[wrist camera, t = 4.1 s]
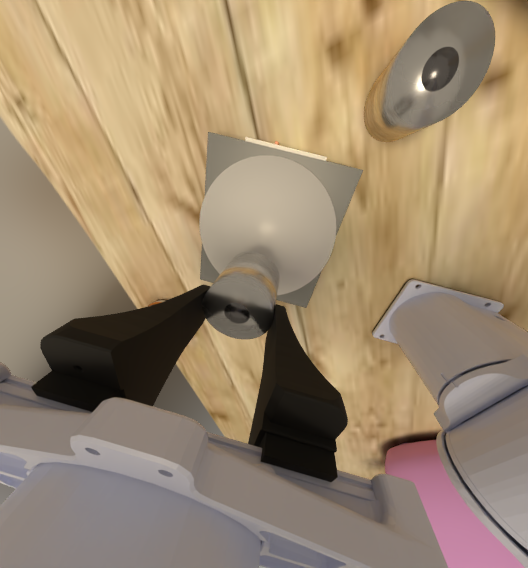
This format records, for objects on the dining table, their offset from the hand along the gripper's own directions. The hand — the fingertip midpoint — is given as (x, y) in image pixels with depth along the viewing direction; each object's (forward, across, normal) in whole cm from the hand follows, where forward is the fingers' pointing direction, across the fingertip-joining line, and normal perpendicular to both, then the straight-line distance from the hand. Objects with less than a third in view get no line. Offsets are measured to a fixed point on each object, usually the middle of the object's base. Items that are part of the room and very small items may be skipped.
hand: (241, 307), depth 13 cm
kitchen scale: (+9, 0, -3) cm, 10 cm away
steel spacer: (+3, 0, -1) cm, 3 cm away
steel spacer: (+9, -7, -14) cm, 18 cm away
